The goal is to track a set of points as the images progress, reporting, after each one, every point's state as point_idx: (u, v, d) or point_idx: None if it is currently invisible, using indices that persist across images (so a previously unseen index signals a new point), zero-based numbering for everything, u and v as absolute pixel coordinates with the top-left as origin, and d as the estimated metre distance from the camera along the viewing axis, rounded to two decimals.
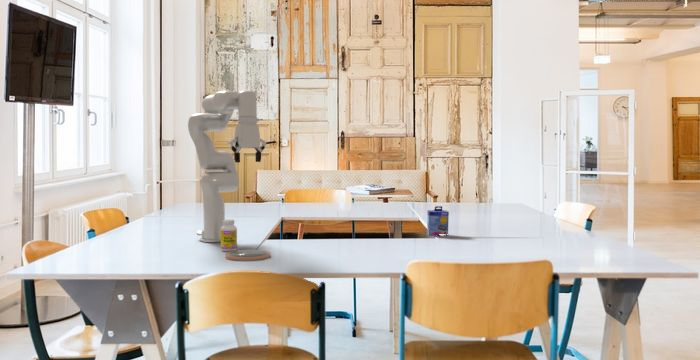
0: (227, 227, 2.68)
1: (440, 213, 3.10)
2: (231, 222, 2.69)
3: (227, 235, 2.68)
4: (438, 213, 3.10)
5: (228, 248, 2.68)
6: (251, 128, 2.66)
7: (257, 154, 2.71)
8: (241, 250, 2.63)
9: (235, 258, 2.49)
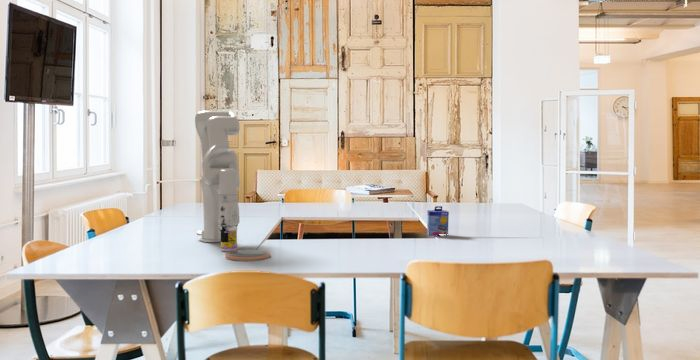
0: None
1: (440, 213, 3.10)
2: None
3: None
4: (438, 213, 3.10)
5: (228, 248, 2.68)
6: None
7: None
8: (241, 250, 2.63)
9: (235, 258, 2.49)
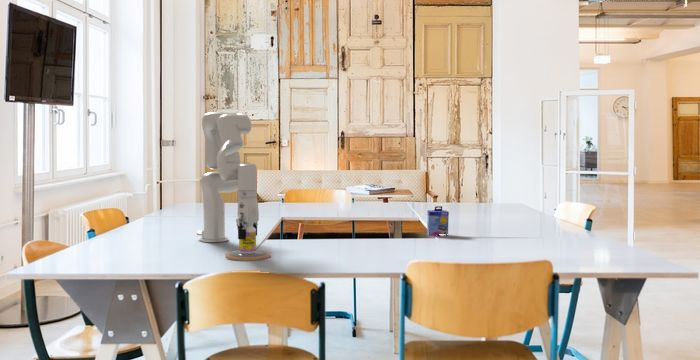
0: (246, 229, 2.54)
1: (440, 213, 3.10)
2: None
3: (246, 237, 2.54)
4: (438, 213, 3.10)
5: (247, 250, 2.54)
6: None
7: None
8: None
9: (235, 258, 2.49)
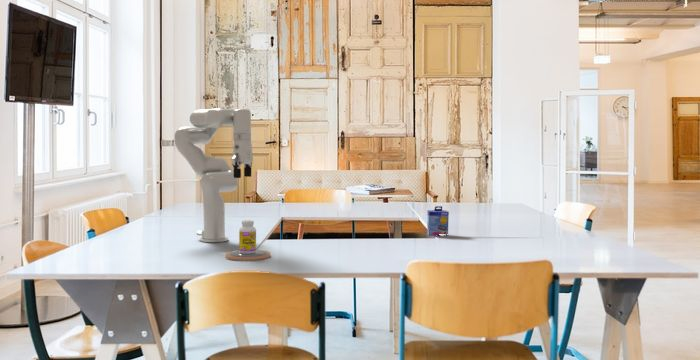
0: (246, 229, 2.54)
1: (440, 213, 3.10)
2: (250, 223, 2.55)
3: (246, 236, 2.54)
4: (438, 213, 3.10)
5: (247, 250, 2.54)
6: None
7: None
8: None
9: (235, 258, 2.49)
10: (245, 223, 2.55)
